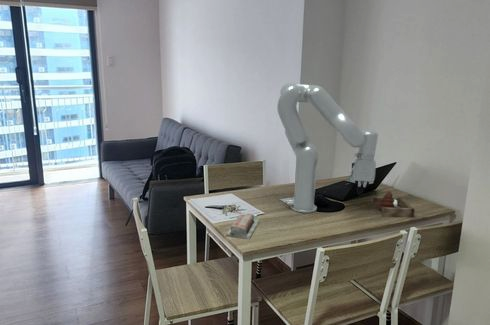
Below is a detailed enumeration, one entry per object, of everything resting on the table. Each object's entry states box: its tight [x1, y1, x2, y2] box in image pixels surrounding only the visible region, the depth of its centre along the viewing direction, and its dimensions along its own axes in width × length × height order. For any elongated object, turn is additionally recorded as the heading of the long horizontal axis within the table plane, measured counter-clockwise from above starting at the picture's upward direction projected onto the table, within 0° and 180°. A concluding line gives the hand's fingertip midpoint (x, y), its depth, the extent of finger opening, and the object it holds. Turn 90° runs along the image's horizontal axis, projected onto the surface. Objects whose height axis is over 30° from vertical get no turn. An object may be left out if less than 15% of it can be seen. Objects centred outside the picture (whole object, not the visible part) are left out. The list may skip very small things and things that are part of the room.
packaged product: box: [225, 212, 260, 240], centre depth 169 cm, size 18×5×10 cm
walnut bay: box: [371, 196, 415, 219], centre depth 196 cm, size 14×17×4 cm
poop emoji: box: [377, 190, 398, 213], centre depth 196 cm, size 10×8×9 cm
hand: (359, 194), depth 194 cm, fingers closed
